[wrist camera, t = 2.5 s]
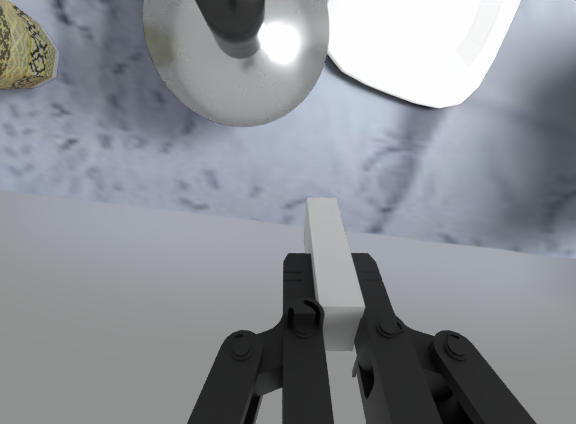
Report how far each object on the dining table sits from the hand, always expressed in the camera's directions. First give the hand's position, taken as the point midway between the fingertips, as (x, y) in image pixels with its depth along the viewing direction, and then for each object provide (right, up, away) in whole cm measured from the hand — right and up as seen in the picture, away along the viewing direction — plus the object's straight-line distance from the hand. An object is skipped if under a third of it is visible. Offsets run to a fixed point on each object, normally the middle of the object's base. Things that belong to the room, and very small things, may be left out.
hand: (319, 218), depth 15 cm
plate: (+14, +25, +18) cm, 34 cm away
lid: (-6, +16, +11) cm, 21 cm away
